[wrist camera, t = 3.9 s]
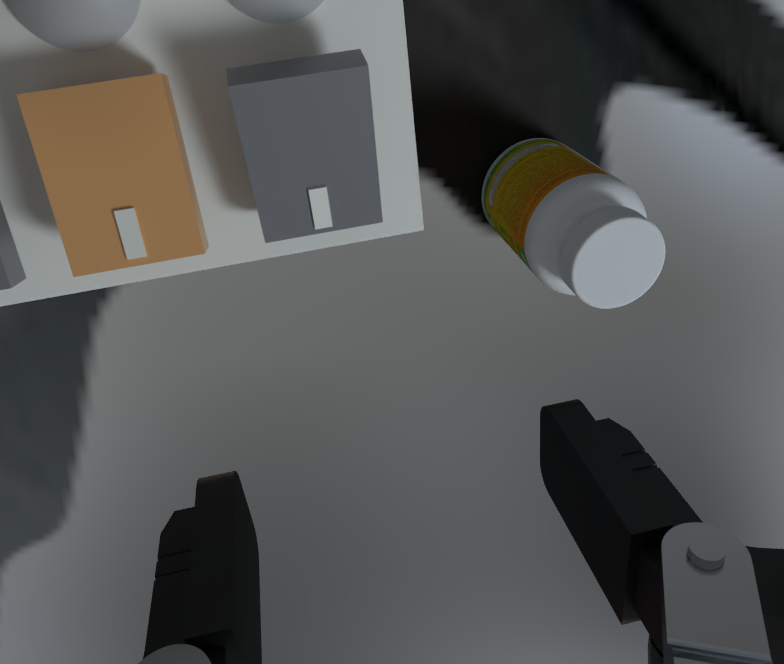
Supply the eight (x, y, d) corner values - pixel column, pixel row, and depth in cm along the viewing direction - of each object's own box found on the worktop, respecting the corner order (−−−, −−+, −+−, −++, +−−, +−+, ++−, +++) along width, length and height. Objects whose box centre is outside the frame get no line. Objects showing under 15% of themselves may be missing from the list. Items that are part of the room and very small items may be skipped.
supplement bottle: (459, 212, 35) (527, 297, 26) (516, 116, 33) (609, 175, 25) (540, 252, 37) (627, 343, 29) (598, 164, 35) (710, 233, 27)
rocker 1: (40, 96, 25) (14, 94, 23) (171, 76, 26) (160, 72, 23) (90, 263, 27) (72, 278, 25) (210, 241, 28) (204, 254, 25)
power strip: (-279, -95, 24) (-373, -101, 20) (551, -190, 27) (600, -210, 23) (-78, 285, 31) (-120, 331, 28) (548, 175, 35) (584, 203, 31)
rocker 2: (225, 59, 24) (228, 88, 23) (355, 40, 25) (368, 66, 23) (260, 210, 29) (265, 244, 27) (371, 191, 29) (383, 223, 27)
